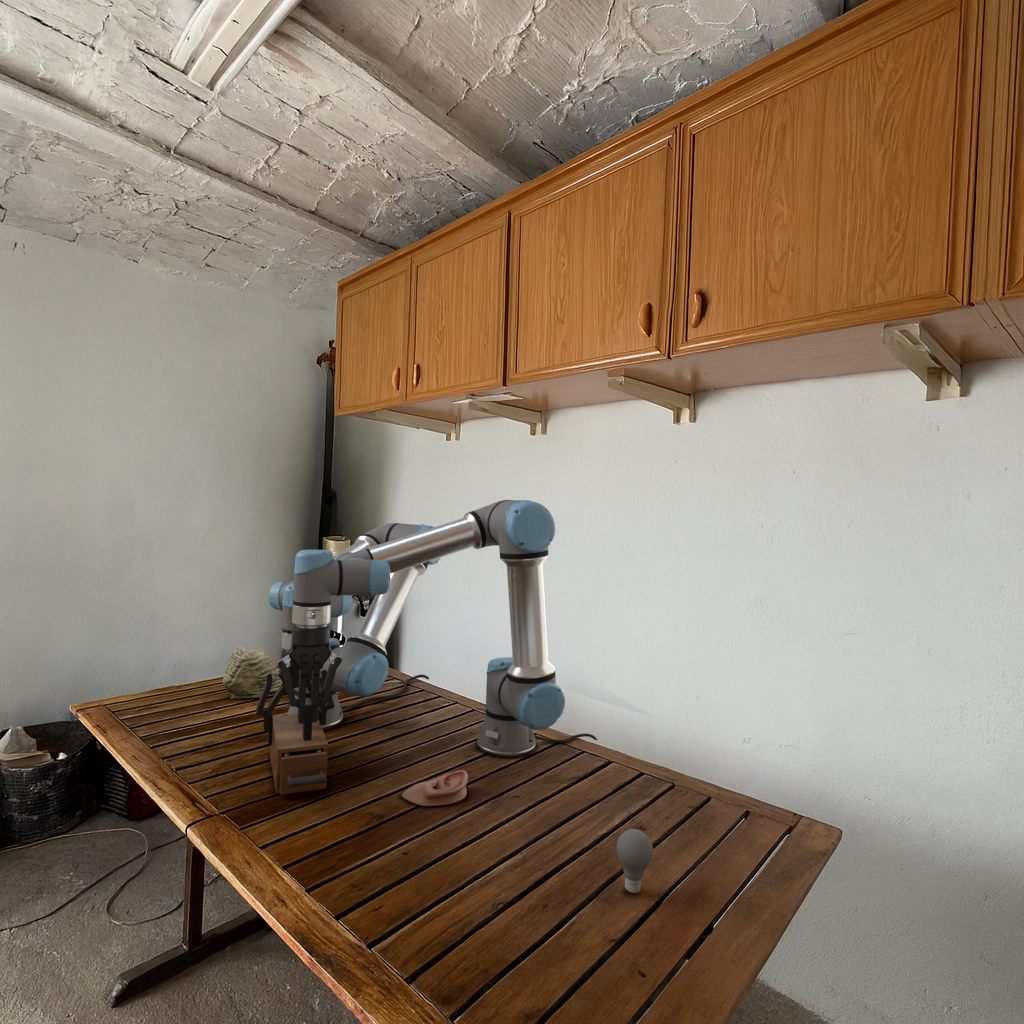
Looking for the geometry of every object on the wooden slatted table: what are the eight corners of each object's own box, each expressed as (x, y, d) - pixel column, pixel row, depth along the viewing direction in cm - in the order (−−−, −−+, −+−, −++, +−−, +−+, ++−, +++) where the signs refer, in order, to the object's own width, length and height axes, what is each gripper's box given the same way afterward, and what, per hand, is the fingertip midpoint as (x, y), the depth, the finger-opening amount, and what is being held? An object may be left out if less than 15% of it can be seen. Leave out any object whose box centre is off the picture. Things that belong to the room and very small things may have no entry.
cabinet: (326, 786, 139) (328, 743, 138) (276, 793, 134) (277, 749, 134) (314, 749, 158) (315, 711, 158) (269, 754, 154) (271, 715, 154)
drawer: (329, 800, 131) (331, 763, 130) (282, 807, 127) (283, 769, 127) (313, 752, 154) (315, 721, 154) (273, 757, 150) (274, 725, 150)
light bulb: (610, 879, 108) (613, 822, 108) (644, 879, 109) (647, 822, 109) (619, 902, 102) (622, 840, 102) (655, 901, 103) (658, 840, 103)
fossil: (218, 695, 195) (220, 647, 195) (278, 685, 208) (279, 640, 207) (228, 703, 189) (230, 653, 188) (289, 692, 201) (290, 645, 201)
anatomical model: (397, 783, 132) (416, 761, 144) (396, 802, 132) (415, 779, 144) (458, 792, 130) (472, 769, 141) (457, 811, 130) (471, 786, 141)
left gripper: (246, 655, 143) (243, 752, 144) (349, 649, 153) (345, 740, 153) (245, 647, 150) (242, 740, 151) (344, 642, 160) (340, 729, 160)
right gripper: (279, 629, 125) (274, 748, 125) (346, 627, 130) (342, 741, 130) (276, 622, 131) (272, 735, 132) (340, 620, 137) (336, 728, 137)
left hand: (294, 740), depth 152 cm, fingers closed on cabinet, 10 cm apart
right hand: (306, 738), depth 131 cm, fingers closed
